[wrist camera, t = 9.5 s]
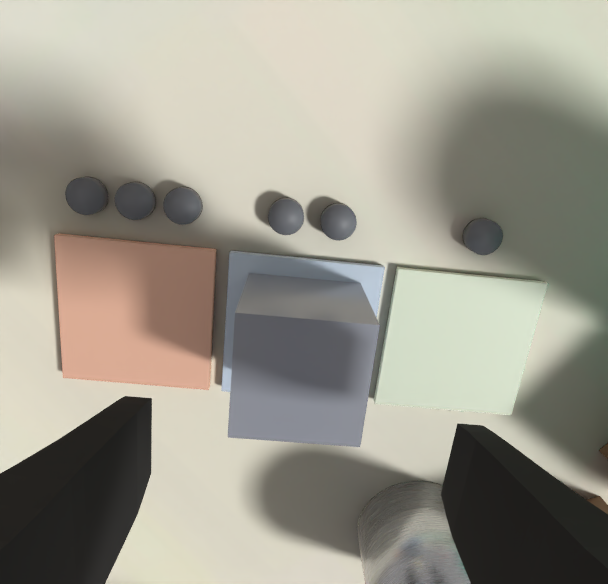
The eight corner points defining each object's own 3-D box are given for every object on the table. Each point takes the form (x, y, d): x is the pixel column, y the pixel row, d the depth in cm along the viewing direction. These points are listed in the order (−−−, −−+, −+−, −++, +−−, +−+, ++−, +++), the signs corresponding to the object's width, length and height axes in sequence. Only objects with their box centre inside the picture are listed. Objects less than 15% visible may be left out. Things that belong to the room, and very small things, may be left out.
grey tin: (456, 573, 22) (502, 696, 17) (350, 566, 21) (365, 689, 16) (480, 485, 20) (538, 593, 15) (365, 476, 20) (388, 583, 15)
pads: (507, 410, 19) (513, 418, 18) (66, 373, 18) (60, 380, 17) (559, 226, 16) (567, 228, 16) (54, 173, 16) (47, 174, 15)
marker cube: (346, 381, 18) (360, 447, 14) (242, 373, 18) (227, 437, 14) (360, 283, 17) (379, 325, 13) (249, 272, 16) (235, 312, 13)
